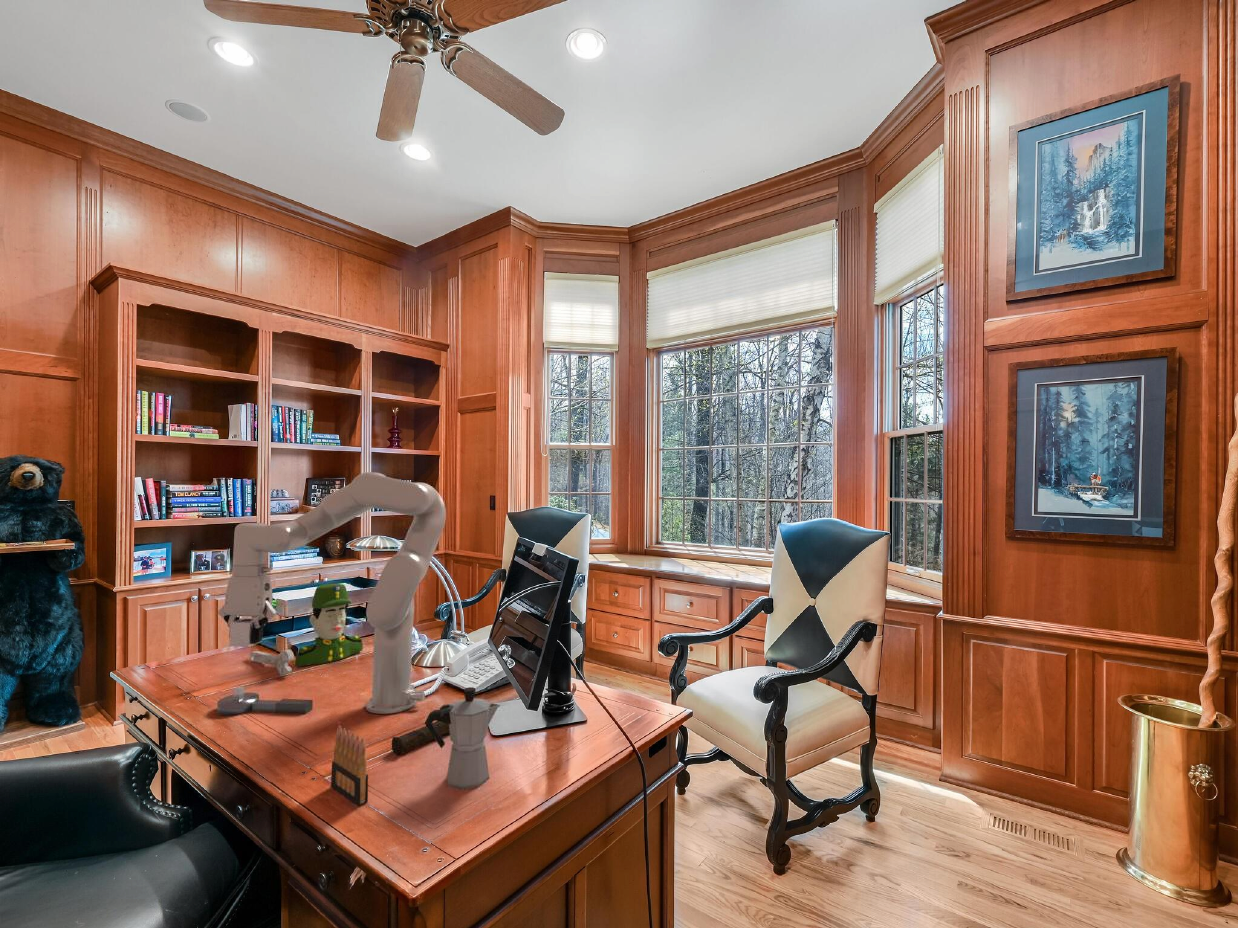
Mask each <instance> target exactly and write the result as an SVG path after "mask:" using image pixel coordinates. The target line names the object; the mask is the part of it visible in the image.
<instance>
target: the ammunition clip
mask: <svg viewBox="0 0 1238 928" xmlns="http://www.w3.org/2000/svg"><path fill="white" fill-rule="evenodd" d="M334 742H335V743H334V748H333V750H334V751H333V760H332V761H331V774H330V775H331V777H330V788H331V789H332V790H334V791H335V792H337V793H338V794H339V795H341V796H342V797H344V798H345V799H346V800H348V801H349V802H351V804H354V805H355V806H356V807H361V806H362V805H365V804H367V803H368V802H369V801H368V800H369V793H368V792H369V775H368V774H367V755H366V754H367V753H366V742H365V739H364V738H363V737H362V738H360V736H359V735H355V733H354V732H352V734H351V731H350V730H349V729H348V730H346V728H345V727H343V728H342V726H341V725H340V724H339V725H338V727H337V728H336V733H335V740H334Z"/></svg>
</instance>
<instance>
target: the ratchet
mask: <svg viewBox="0 0 1238 928" xmlns="http://www.w3.org/2000/svg"><path fill="white" fill-rule="evenodd" d="M313 701H314V700H313V699H303V698H301V699H299V698H297V699H296V698H294V699H293V698H281V699H280V700H271V699H267V700H266V699H260V694H258V693H256V692H245V686H242V685H241V686H240V685H238V686H236V687H233V694H230V695H227V696H224V697H222V698H221V699H219V700H217V702H216V703H217V704H216V705H217V706H216V713H217V715H219V716H222V717H231V716H239V715H238V714H240V715H244V714H247V713H250V712H257V711H261V713H262V711H264V712H263V713H276V714H302V715H303V714H304V715H306V714H308V713H309V712H311V711H312V710H313V706H314V705H313V704H314V703H313ZM243 713H244V714H243Z"/></svg>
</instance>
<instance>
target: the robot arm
mask: <svg viewBox="0 0 1238 928" xmlns="http://www.w3.org/2000/svg"><path fill="white" fill-rule="evenodd" d="M373 508H374V509H376V510H383V511H387V512H391V513H396V514H400V515H405V516H413V518H412V523H411V525H410V526H409V528H408V531H407V533H406V536H405V538H404V540H403V542H402V544H401V547H400V548H399V550H398V552H397V553H395V554H394V555H392V556H391V558H390V559H388V561H387V562H386V564H385V566H384V567H383V569H382V571H381V573H380V576H379V578H378V580H377V583H376V585H375V587H374V590H373V592H372V593H371V594H372V595H371V596H370V598H369V601H368V603H367V607H366V611H365V614H366V619H367V622H368V623H369V624H370V626H371V627H373V628H374V636H373V656H372V657H373V661H372V666H373V667H372V689H371V691H372V696H371V698H369V699H368V700H367V701H366V702H365V709H366V711H368V712H369V713H372V714H379V715H386V714H387V715H388V714H390V715H391V714H395V713H400V712H404V711H406V710H409V709H411V708H413V707H414V706H415V705H416V703H417V702H424V701H425V699H426V693H425V691H424V690H416V689H415V684H412V679H411V678H412V653H413V652H412V650H413V649H412V647H413V646H412V645H413V626H414V617H415V615H414V613H415V594H416V592H417V590H418V587H419V585H420V583H421V581H422V580H423V579H424V577H425V576H427V572H428V570H429V566H430V564H431V561H432V559H433V556H434V554H435V552H436V549H437V548H438V547H437V546H438V543H439V542H440V538H441V536H442V534H443V531H444V528H445V525H446V520H447V510H446V505H445V501H444V500H443V498H442V495H440V493H439V492H438V491H437V490H436V489H435V488H434V487H433V486H431V485H430V484H428V483H425V482H418V481H417V482H412V481H408V480H402V479H398V478H392V477H389V476H386V475H385V474H383V473H381V472H375V471H374V472H371V471H368V472H363V473H361V474H359V475H357V476H355V477H354V478H353V480H352V481H351V483H349V484H347V485H345V486H343V487H341V488H339V489H338V490H335V491H334V492H332V493H329V494H327V495H325V496H324V497H323V498H322V499H321V501H320V502H319V504H318V505H316V506H315V507H314V508H313V509H311V510H310V511H307V512H306V513H304V514H302V515H300V516H298V517H296V518H294V519H293V520H290V521H284V522H281V523H280V522H279V523H276V524H274V523H273V524H267V523H263V522H262V523H261V522H243V523H239V524H236V526H235V528H234V534H233V535H234V537H233V552H232V553H233V554H232V555H233V556H232V571H231V574H232V575H231V576H230V577H229V579H228V582H227V586H226V590H225V596H224V604H223V605H222V607H220V609H219V610H218V611H217V614H218V616H220V617H221V618H223V620H224V622H226V624H227V627H228V628H230V624H231V622H233V621H236V620H239V619H242V617H250V618H253V622H254V626H255V628H253V630H252V644H255V645H257V644H259V643H261V642H260V641H262V640H263V636H264V627H265V626H266V625H267V623H269V622H270V620H272V619H273V618H274V617H276V616H277V614H278V613H277V611H276V610H275V609H274V607H273V599H274V597H273V586H272V580H271V576H270V575H268V573H271V571H272V567H270V566H269V564H268V556H269V553H273V554H283V553H286V552H289V551H292V550H296V549H299V548H301V547H303V546H305V545H307V544H309V543H311V542H312V541H314V540H316V539H318V538H320V537H322V536H323V535H325V534H327V533H329V532H330V531H332V530H334V529H336V528H339V527H340V526H342V525H344V524H345V523H347V522H349V521H352V520H353V519H355V518H357V517H359V516H360V515H361V514H364V513H366V512H367V511H370V510H372V509H373ZM265 614H266V615H265ZM228 634H229V637H228V638H229V639H230V632H229V633H228ZM258 642H259V643H258ZM256 643H257V644H256Z"/></svg>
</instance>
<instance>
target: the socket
mask: <svg viewBox="0 0 1238 928" xmlns="http://www.w3.org/2000/svg"><path fill="white" fill-rule="evenodd" d="M253 628H255V626H254V622H253V617H241V619H239V620H236V621H233V622H231V624H230V627H229V633H230V638H229V642H228V643H229V645H228V646H229V647H238V648H239V647H241V648H250V647H252V646H255V645H257V644H259V643H261V642H262V641H260V642H258V643H256V644H252V630H253Z"/></svg>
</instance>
